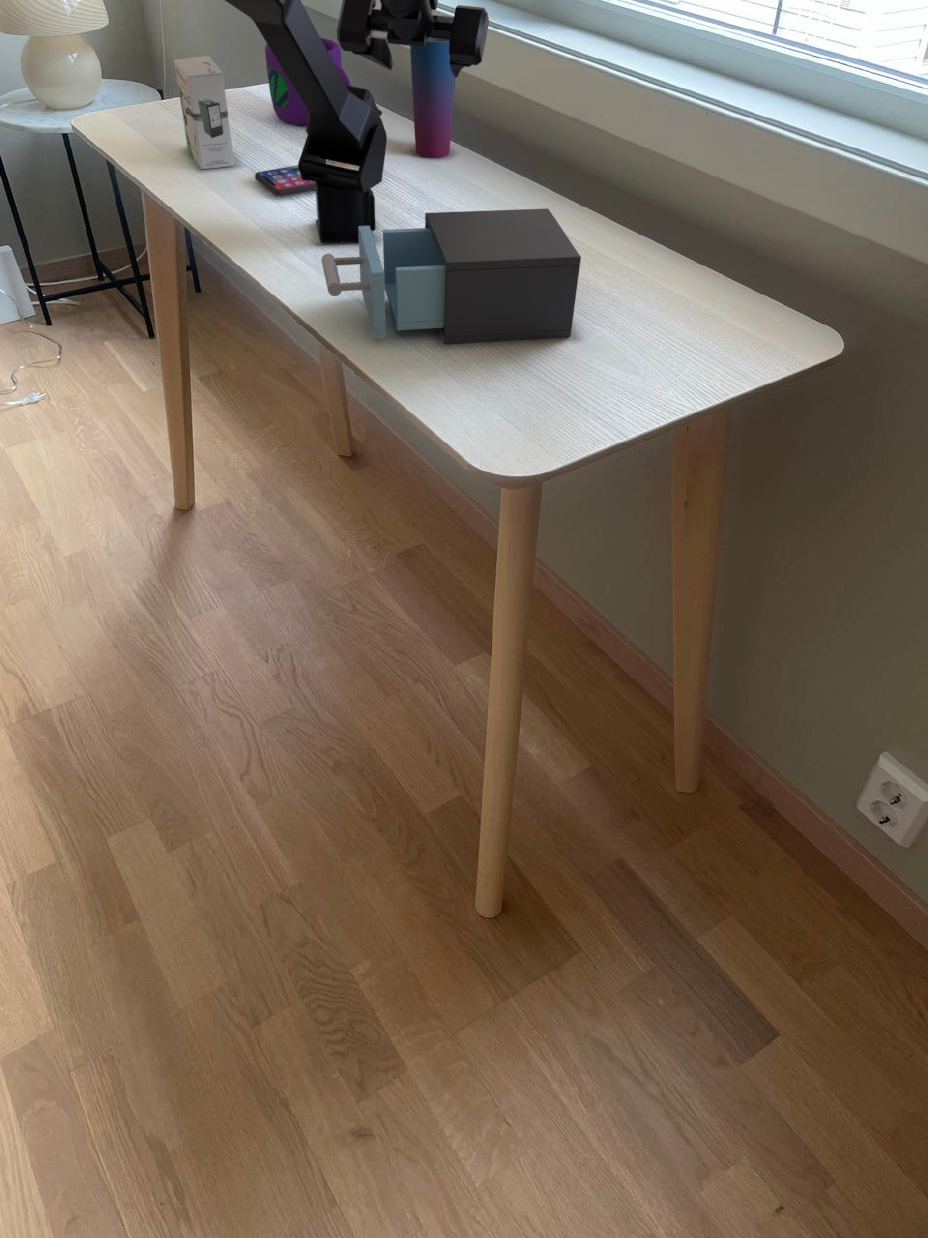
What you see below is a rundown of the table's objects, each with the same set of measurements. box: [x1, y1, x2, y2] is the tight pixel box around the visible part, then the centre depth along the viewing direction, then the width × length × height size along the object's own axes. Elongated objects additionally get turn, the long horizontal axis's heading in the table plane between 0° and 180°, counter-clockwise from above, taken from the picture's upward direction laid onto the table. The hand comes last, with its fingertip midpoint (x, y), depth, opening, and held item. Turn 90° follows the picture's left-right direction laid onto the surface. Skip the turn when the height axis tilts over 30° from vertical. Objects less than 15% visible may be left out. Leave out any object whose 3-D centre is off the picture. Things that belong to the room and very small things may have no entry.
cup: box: [409, 37, 457, 159], centre depth 131 cm, size 7×7×15 cm
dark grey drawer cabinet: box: [424, 208, 582, 345], centre depth 98 cm, size 14×13×9 cm
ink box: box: [173, 55, 236, 170], centre depth 127 cm, size 9×5×12 cm, turn 25°
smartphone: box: [254, 160, 360, 198], centre depth 126 cm, size 8×1×15 cm
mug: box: [264, 37, 352, 126], centre depth 141 cm, size 17×11×10 cm, turn 43°
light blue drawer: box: [321, 226, 446, 338], centre depth 96 cm, size 17×11×7 cm
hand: (423, 69), depth 125 cm, fingers open, 9 cm apart
